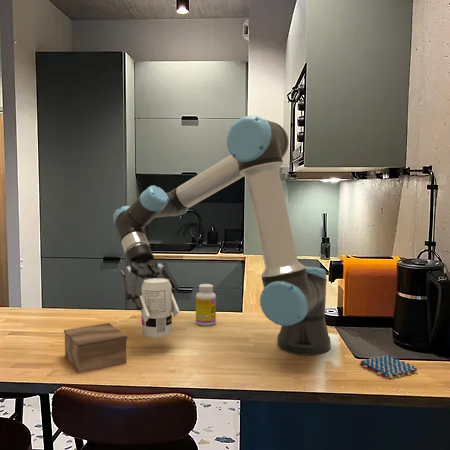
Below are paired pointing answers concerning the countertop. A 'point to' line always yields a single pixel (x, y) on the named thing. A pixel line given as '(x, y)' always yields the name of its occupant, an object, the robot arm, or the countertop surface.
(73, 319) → the countertop surface
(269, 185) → the robot arm
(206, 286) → the supplement bottle
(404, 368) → the woven mat
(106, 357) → the walnut tea box
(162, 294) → the supplement can
